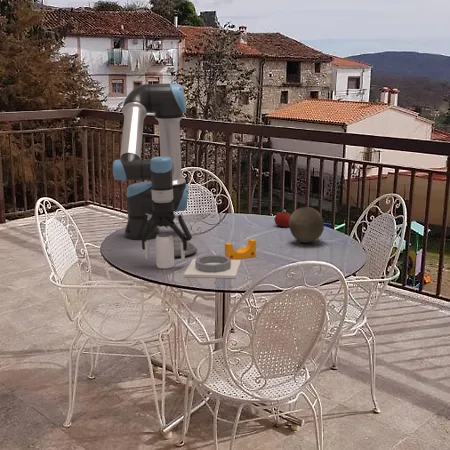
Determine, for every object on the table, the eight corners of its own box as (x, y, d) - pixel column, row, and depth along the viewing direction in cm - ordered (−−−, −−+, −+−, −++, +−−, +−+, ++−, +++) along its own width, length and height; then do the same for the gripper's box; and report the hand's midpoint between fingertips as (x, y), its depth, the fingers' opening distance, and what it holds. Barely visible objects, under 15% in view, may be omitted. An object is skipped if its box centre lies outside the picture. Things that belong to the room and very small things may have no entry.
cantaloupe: (290, 238, 249) (290, 203, 246) (324, 239, 246) (325, 204, 243) (287, 247, 236) (287, 210, 232) (322, 248, 233) (323, 211, 229)
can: (171, 269, 210) (170, 237, 207) (154, 268, 212) (152, 236, 209) (176, 264, 217) (175, 232, 214) (159, 263, 218) (158, 232, 215)
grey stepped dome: (161, 260, 221) (161, 246, 220) (155, 250, 236) (155, 237, 234) (200, 257, 225) (200, 243, 224) (192, 247, 239) (192, 234, 238)
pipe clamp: (250, 253, 228) (250, 237, 227) (256, 256, 225) (256, 240, 223) (223, 258, 223) (222, 242, 222) (228, 261, 219) (227, 244, 218)
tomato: (271, 226, 268) (271, 211, 267) (280, 223, 275) (280, 208, 273) (287, 229, 264) (287, 213, 262) (295, 225, 270) (295, 210, 269)
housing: (183, 277, 202) (183, 267, 202) (193, 261, 220) (192, 252, 219) (235, 278, 200) (235, 268, 199) (241, 262, 217) (240, 253, 217)
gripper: (125, 202, 206) (129, 260, 211) (195, 203, 203) (196, 262, 208) (131, 198, 213) (135, 254, 219) (198, 199, 210) (200, 256, 215)
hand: (165, 258), depth 213 cm, fingers open, 12 cm apart
